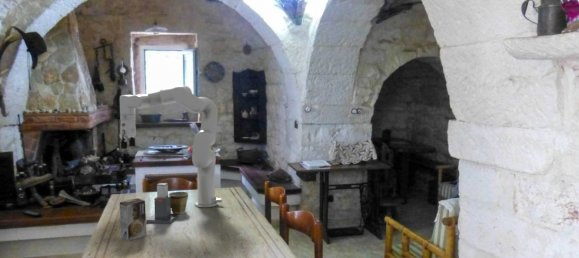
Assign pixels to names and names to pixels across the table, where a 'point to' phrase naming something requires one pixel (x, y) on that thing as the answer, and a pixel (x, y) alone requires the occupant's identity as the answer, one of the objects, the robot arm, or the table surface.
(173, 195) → the ceramic cup
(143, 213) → the coffee box
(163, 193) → the steel post
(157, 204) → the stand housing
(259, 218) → the table surface
